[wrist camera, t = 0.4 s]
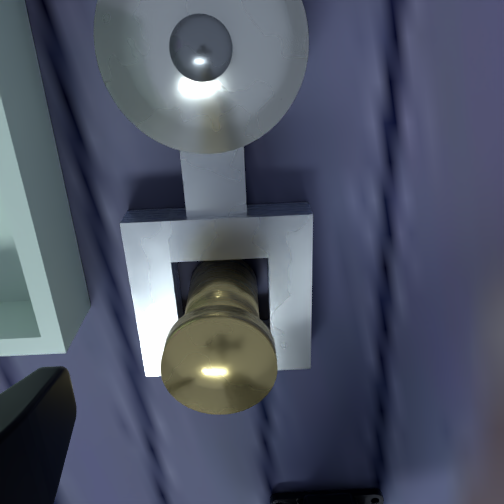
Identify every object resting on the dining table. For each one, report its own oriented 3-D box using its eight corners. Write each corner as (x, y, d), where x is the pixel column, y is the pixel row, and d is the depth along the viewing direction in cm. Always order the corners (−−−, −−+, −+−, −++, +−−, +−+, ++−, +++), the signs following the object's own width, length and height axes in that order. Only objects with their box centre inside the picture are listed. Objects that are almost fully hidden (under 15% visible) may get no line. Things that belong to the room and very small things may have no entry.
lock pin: (268, 319, 23) (278, 411, 17) (184, 323, 23) (167, 417, 17) (266, 242, 21) (276, 317, 15) (175, 246, 21) (153, 323, 15)
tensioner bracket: (306, 348, 23) (314, 384, 21) (151, 356, 23) (141, 393, 21) (311, -74, 16) (323, -91, 14) (83, -64, 16) (56, -79, 14)
